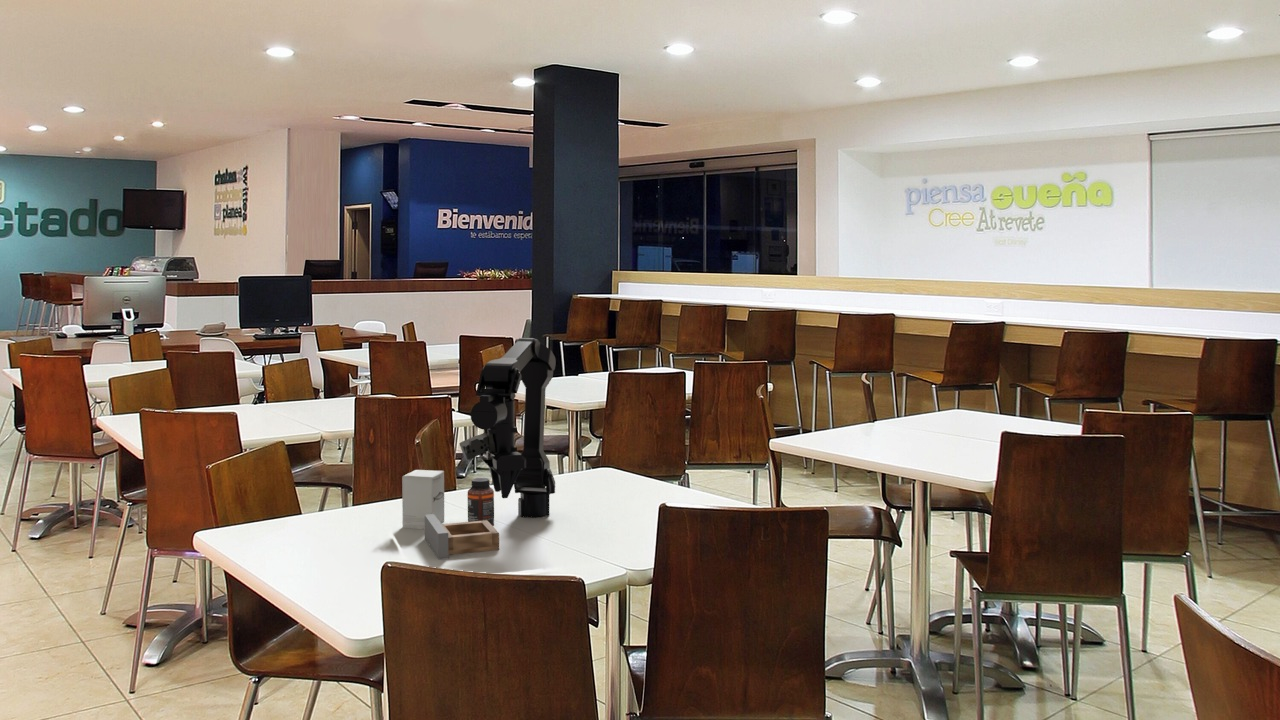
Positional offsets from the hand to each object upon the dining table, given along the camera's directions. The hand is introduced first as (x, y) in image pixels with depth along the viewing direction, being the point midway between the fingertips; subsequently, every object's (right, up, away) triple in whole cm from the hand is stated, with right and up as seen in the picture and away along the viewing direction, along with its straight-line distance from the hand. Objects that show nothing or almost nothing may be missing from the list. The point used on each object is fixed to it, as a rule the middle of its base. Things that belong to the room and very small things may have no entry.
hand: (501, 494), depth 212 cm
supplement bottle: (-7, -10, +15) cm, 19 cm away
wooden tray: (-7, -10, -2) cm, 13 cm away
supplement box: (-20, -10, +15) cm, 26 cm away
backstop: (-4, -11, 0) cm, 12 cm away
